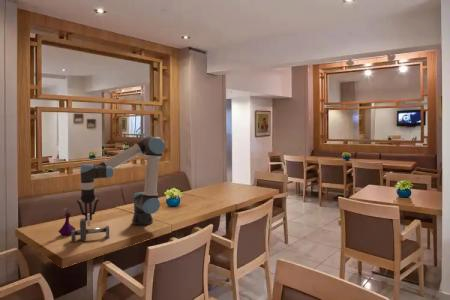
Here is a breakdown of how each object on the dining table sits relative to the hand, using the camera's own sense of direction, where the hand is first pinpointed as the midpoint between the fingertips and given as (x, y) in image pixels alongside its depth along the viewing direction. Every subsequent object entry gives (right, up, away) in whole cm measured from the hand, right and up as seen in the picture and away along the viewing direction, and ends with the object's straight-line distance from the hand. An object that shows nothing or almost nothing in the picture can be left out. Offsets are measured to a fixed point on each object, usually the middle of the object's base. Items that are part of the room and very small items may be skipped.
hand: (88, 225), depth 199 cm
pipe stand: (+1, -9, +1) cm, 9 cm away
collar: (-3, -9, -1) cm, 9 cm away
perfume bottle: (-19, -9, +9) cm, 22 cm away
